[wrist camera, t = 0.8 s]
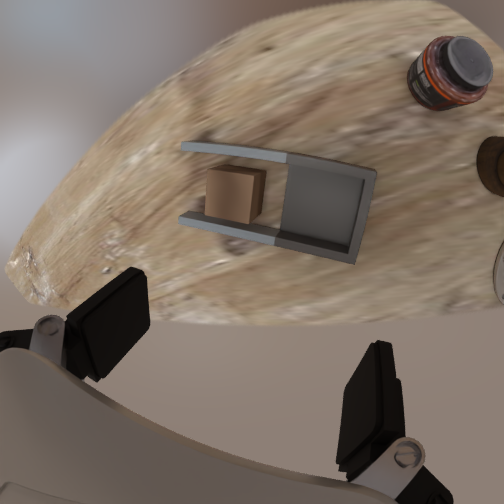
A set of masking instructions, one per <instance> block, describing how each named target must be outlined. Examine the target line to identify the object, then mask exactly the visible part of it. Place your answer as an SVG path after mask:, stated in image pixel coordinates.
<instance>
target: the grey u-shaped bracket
mask: <svg viewBox="0 0 504 504" xmlns="http://www.w3.org/2000/svg"><path fill="white" fill-rule="evenodd" d="M181 150H183V151H195V152H206V153H215V154H224V155H233V156H241V157H248V158H255V159H262V160H269V161H275V162H281V163H287V164H289V171H288V178H287V185H286V192H285V199H284V206H283V213H282V219H281V226H280V230H279V229H274V228H270V227H265V226H261V225H256V224H251V223H250V224H245V223H240V222H236V221H231V220H226V219H221V218H217V217H212V216H207V215H205V214H203V213H198V212H193V211H188V212H186V213H184V214H182V215H180V216H179V224H181V225H185V226H190V227H194V228H199V229H203V230H208V231H212V232H217V233H221V234H225V235H230V236H234V237H239V238H243V239H247V240H252V241H256V242H260V243H265V244H269V245H273V246H278V247H282V248H286V249H291V250H295V251H299V252H303V253H308V254H312V255H316V256H320V257H324V258H329V259H333V260H337V261H341V262H345V263H349V264H354V265H355V262H356V258H357V255H358V251H359V248H360V244H361V240H362V236H363V232H364V228H365V224H366V220H367V216H368V212H369V208H370V203H371V199H372V194H373V190H374V185H375V180H376V175H377V172H376V171H375V169H371V168H367V167H363V166H358V165H354V164H350V163H345V162H341V161H336V160H331V159H326V158H321V157H316V156H310V155H305V154H299V153H293V152H287V151H281V150H274V149H267V148H260V147H252V146H244V145H235V144H226V143H215V142H203V141H184V142H181Z"/></svg>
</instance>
